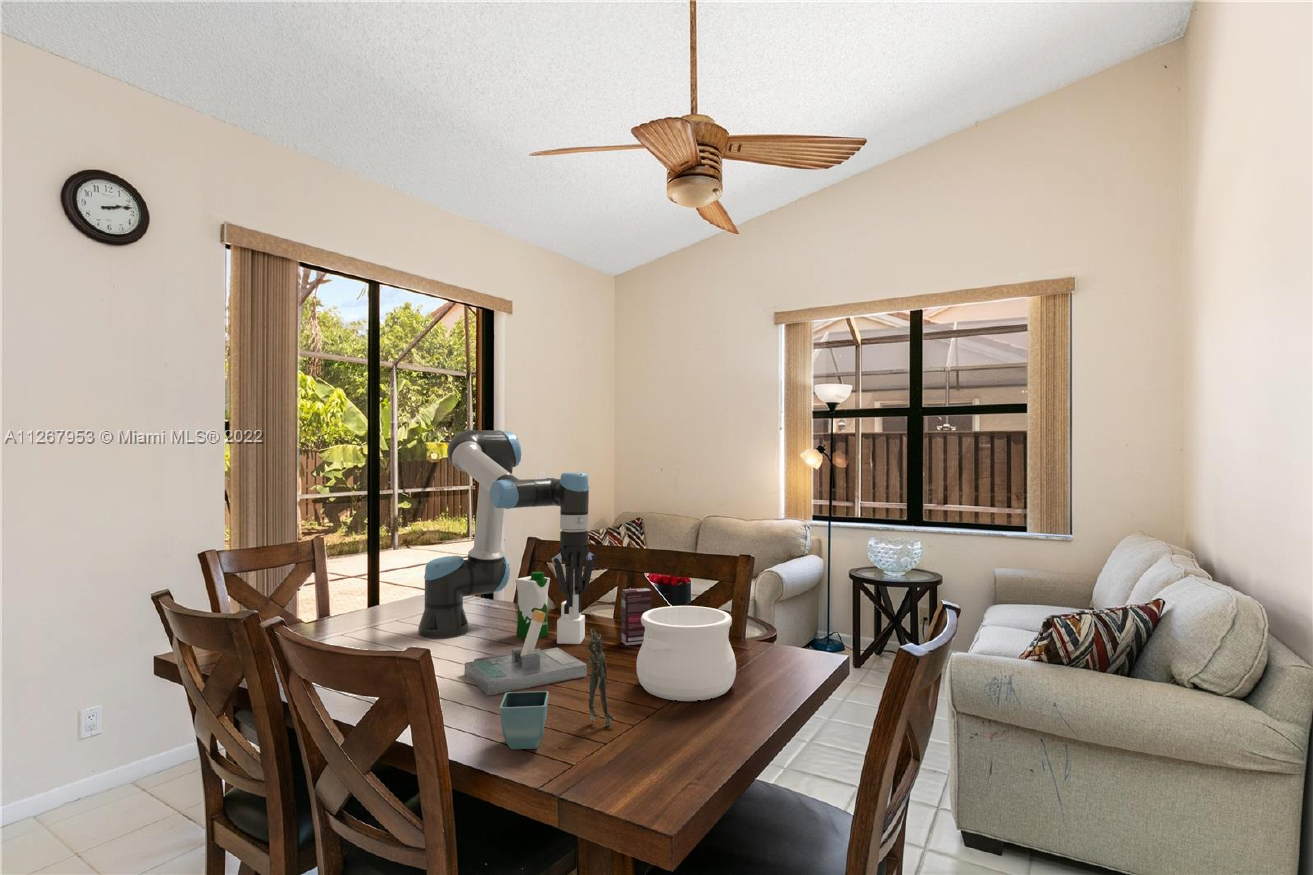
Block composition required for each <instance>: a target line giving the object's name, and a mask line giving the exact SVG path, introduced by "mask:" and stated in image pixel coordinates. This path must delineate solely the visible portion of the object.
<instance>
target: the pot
mask: <svg viewBox="0 0 1313 875" xmlns="http://www.w3.org/2000/svg"><path fill="white" fill-rule="evenodd" d="M732 622H733V618H732V616H731V615H730V614H729V613H728V612H726V611H724V610H722V609H717V608H713V607H705V606H697V605H671V606H662V607H661V606H660V607H657V608H656V607H655V608H652V610H649V611H646V612H645V613H643V615H642V617H641V623H642V625H643V626H644V627H645V632H644V641H643V643H642V644H641V646H640V648H639V651H638V652H637V658H636V663H635V664H636V674H637V678H638V680H639V683H640V685H641V686H642V688H643V689H644V690H645V691H646V692H647V693H649V695H653V696H654V697H657V698H661V699H664V700H669V701H675V700H677V702H698V701H697V700H701V701H705V700H706V701H707V700H710V699H711V698H712V699H715V698H718V697H720V696H722V695H724V694H726V693H727V692H729V690H730V688H731V687H732V686H733V684H734V682H735V679H736V676H737V675H736V674H737V661H736V657H735V656H736V655H735V653H734V650H733V648H732V645H731V642H730V641H729V640H730V639H729V630H728V629H729V628H730V627H731V626H732V624H733V623H732Z"/></svg>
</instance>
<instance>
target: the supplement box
mask: <svg viewBox="0 0 1313 875" xmlns="http://www.w3.org/2000/svg"><path fill="white" fill-rule="evenodd" d="M620 591H621V592H620V593H621V599H620V600H621V604H620V605H621V643H623V644H624V645H625V646H633V645H634V646H635V645H642V643H643V641H644V632H645V627H644V626H643V625H642V623H641V617H642V615H643V613H645V612H646V611H649V610H652V609H653V590H652V589H651V588H648V587H639V588H638V587H637V588H628V589H627V588H626V589H621V590H620Z"/></svg>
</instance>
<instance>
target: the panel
mask: <svg viewBox="0 0 1313 875" xmlns="http://www.w3.org/2000/svg"><path fill="white" fill-rule="evenodd" d="M522 649H523V646H522V647H515V648H511V653H512V655H509V656H503V657H497V658H491V659H485V660H479V661H474V660H473V661H469V662H467V661H466V662H464V675H465V676H466V677H467V678H468V679H469V681H471V682H472V683H474V685H476V686H477V687H478V688H479V689H480V690H482V692H484V694H486V695H487V696H492V695H498V694H503V693H504V694H505V693H508V692H515V691H519V690H525V689H529V688H534V687H535V688H536V687H539V686H544V685H549V684H550V685H551V684H554V683H560V682H564V681H565V682H566V681H570V680H574V679H582V678H584V677H585V678H586V677H587V676H588V664H586V662H584V661H582V660H580V659H578V658H577V657H574V656H573V655H571V654H569V653H568V652H566V651H564V650H562V649H561V648H559V647H553V648H546V649H541V650H539V651H534V652H533V654H529V655H523V656H522V659H521V658H520V654H521V652H522Z"/></svg>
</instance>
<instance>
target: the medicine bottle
mask: <svg viewBox="0 0 1313 875" xmlns="http://www.w3.org/2000/svg"><path fill="white" fill-rule="evenodd" d="M560 604H561V605H560V606H561V607H560V612H561V613H560V615H561V616H560V617H559V618H557V620H556V644H561V645H562V644H565V645H569V644H570V645H580V644H582V642H583V641H584V639H585V638H586V635H585V634H586V632H585V631H586V630H585V629H586V628H585V627H586V625H585V624H586V615H585V614H582V604H581V605H580V606H579V615H578V619H575V620H573V619H571V618H569V607H568V606H567V605H566V600H564V601H562V602H561V603H560Z"/></svg>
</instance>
